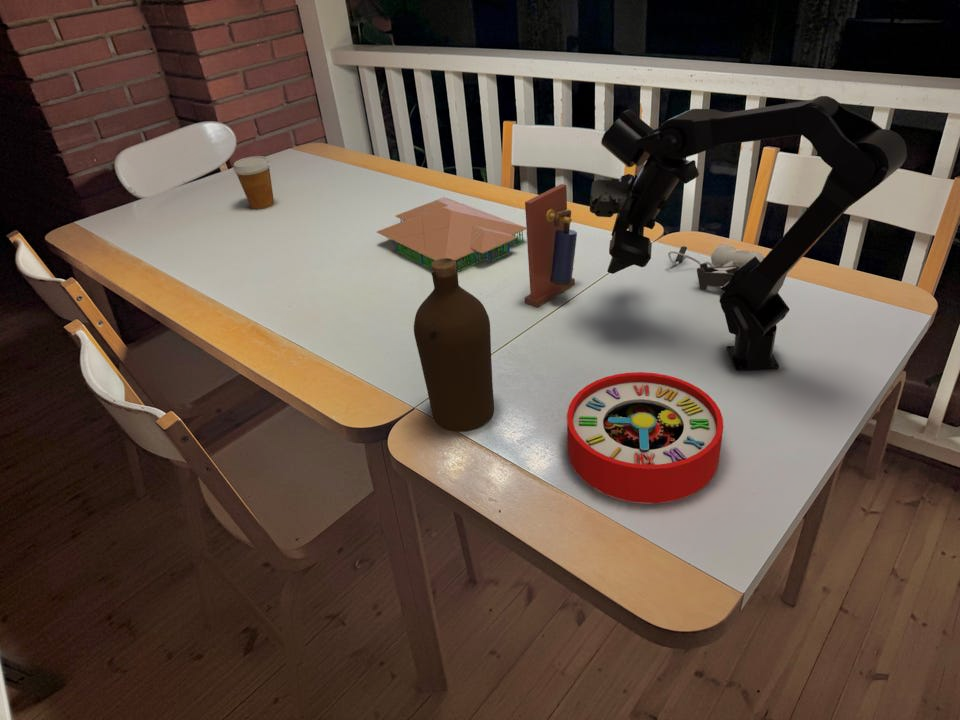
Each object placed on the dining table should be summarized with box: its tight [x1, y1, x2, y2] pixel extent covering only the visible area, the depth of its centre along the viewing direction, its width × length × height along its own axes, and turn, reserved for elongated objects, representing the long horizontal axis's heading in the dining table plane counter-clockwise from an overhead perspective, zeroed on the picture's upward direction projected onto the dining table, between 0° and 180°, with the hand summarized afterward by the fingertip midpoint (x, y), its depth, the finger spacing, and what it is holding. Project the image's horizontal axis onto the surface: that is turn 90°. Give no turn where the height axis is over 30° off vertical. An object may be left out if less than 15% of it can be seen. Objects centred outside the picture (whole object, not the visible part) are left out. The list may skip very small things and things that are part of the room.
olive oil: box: [413, 258, 495, 433], centre depth 98 cm, size 11×11×25 cm
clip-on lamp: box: [667, 243, 765, 290], centre depth 132 cm, size 12×6×18 cm
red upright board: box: [524, 183, 576, 308], centre depth 126 cm, size 7×11×20 cm, turn 136°
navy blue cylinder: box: [550, 208, 578, 285], centre depth 124 cm, size 6×4×13 cm
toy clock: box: [566, 371, 724, 505], centre depth 93 cm, size 20×6×20 cm
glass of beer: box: [232, 155, 275, 210], centre depth 185 cm, size 10×10×12 cm
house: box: [376, 196, 527, 273], centre depth 154 cm, size 23×33×8 cm
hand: (612, 253), depth 119 cm, fingers open, 9 cm apart
